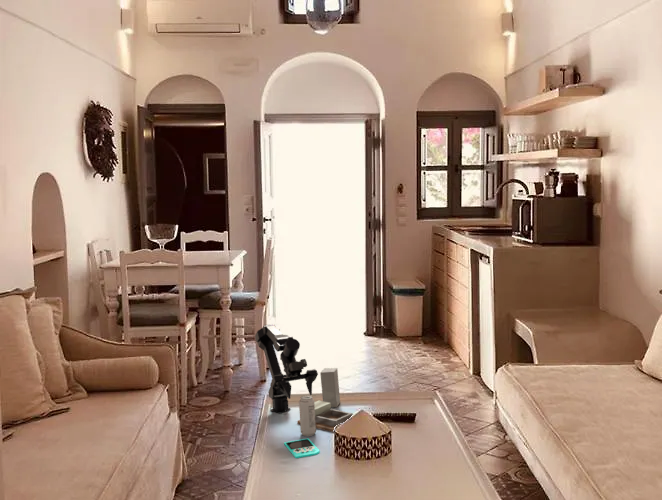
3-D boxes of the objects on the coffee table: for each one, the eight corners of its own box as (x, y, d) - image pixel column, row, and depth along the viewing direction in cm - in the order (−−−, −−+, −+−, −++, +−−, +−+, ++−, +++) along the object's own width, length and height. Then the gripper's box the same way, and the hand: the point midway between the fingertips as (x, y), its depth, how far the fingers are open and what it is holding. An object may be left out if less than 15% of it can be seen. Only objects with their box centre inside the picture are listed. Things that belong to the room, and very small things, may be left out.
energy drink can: (306, 430, 295) (304, 394, 293) (318, 432, 291) (316, 395, 290) (297, 435, 289) (295, 398, 288) (310, 437, 286) (308, 400, 285)
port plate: (297, 423, 303) (296, 409, 303) (322, 412, 316) (321, 398, 315) (335, 432, 291) (334, 417, 290) (359, 420, 303) (358, 406, 302)
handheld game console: (295, 459, 266) (295, 456, 266) (283, 445, 281) (283, 441, 281) (321, 455, 270) (321, 451, 269) (308, 440, 285) (308, 437, 284)
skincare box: (337, 407, 322) (335, 372, 320) (321, 407, 323) (319, 372, 322) (340, 401, 330) (339, 367, 328) (325, 401, 332) (323, 367, 330)
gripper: (272, 356, 295) (282, 390, 287) (315, 349, 303) (326, 382, 294) (267, 370, 303) (277, 404, 295) (308, 364, 311) (320, 396, 302)
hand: (300, 396), depth 296 cm, fingers open, 9 cm apart
